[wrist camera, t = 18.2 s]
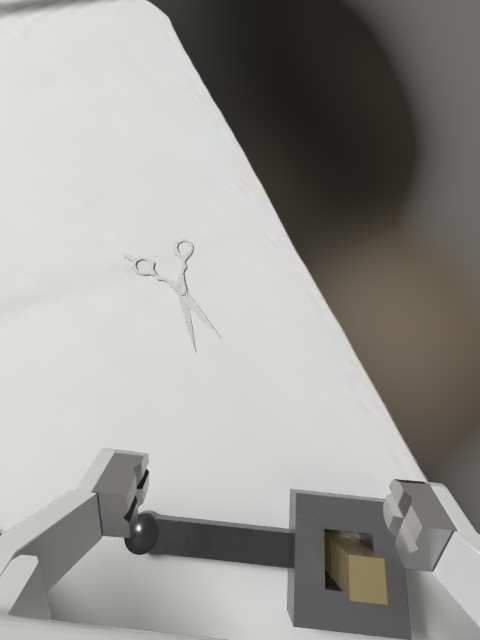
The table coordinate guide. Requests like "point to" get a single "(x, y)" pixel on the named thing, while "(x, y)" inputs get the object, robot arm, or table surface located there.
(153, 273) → the scissors
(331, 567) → the bar
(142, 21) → the table surface
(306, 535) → the grey handled square frame
